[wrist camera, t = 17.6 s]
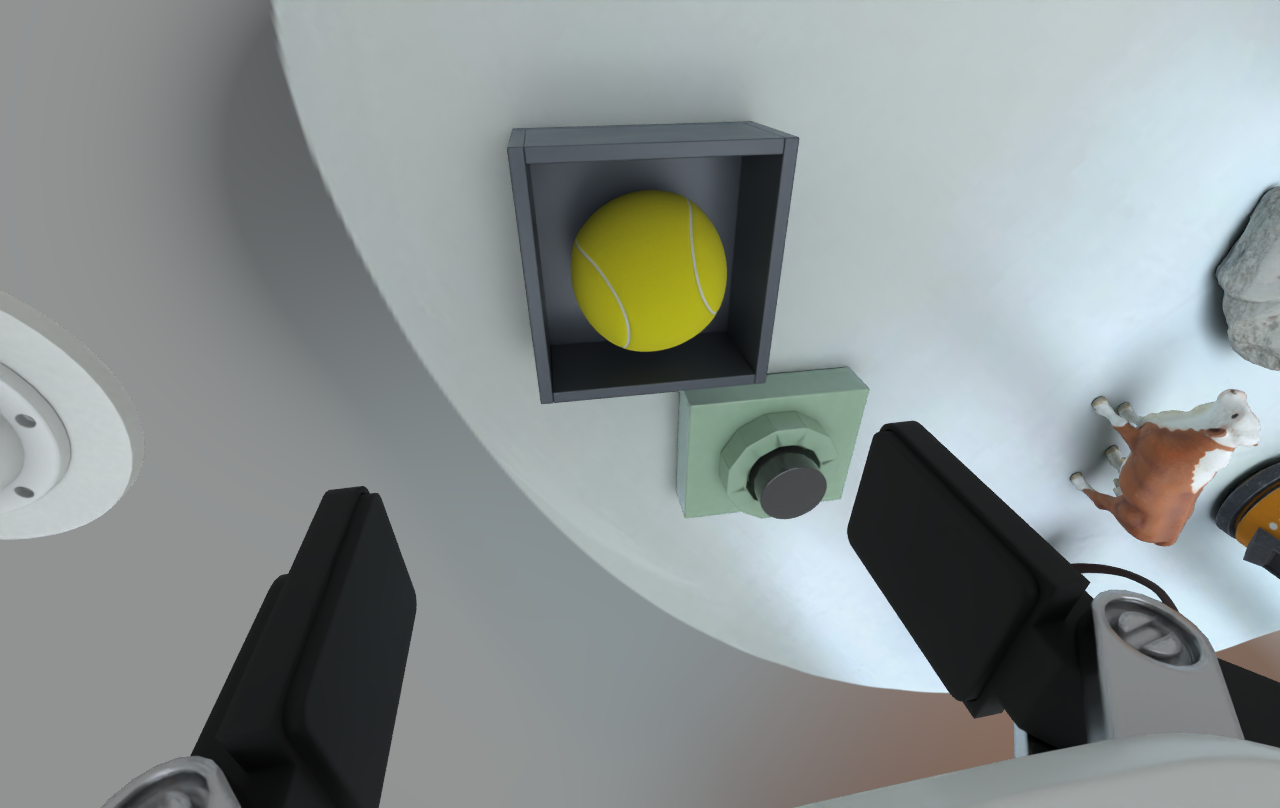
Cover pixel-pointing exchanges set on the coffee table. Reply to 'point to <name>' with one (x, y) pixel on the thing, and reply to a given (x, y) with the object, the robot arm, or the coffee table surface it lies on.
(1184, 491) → the bull figurine
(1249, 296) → the decorative stone
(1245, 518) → the canister
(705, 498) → the push button base
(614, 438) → the coffee table surface
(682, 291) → the tennis ball
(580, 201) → the bin
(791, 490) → the button top
